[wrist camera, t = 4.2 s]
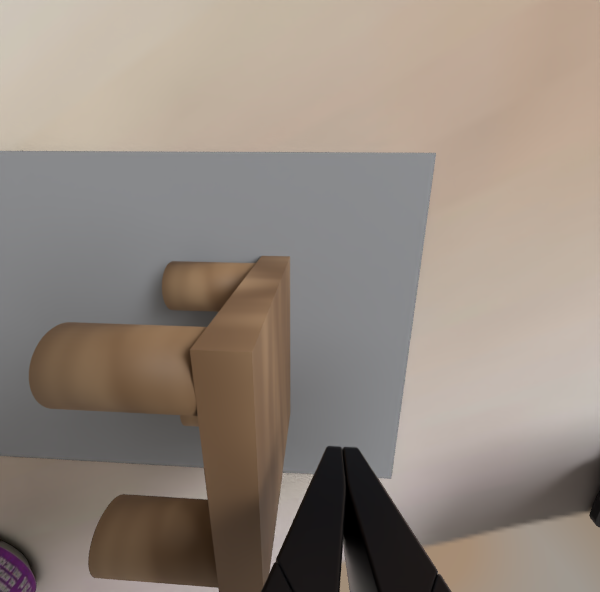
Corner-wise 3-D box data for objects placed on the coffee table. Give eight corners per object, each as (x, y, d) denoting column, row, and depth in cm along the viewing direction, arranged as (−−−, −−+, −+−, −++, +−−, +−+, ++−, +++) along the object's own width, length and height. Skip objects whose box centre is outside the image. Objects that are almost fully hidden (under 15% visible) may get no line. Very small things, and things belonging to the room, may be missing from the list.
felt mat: (433, 153, 12) (436, 153, 12) (389, 473, 18) (391, 478, 17) (-154, 150, 14) (-165, 150, 13) (-27, 449, 19) (-32, 453, 19)
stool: (290, 256, 14) (251, 352, 6) (290, 412, 16) (264, 611, 9) (180, 253, 14) (15, 343, 6) (198, 408, 17) (98, 597, 9)
